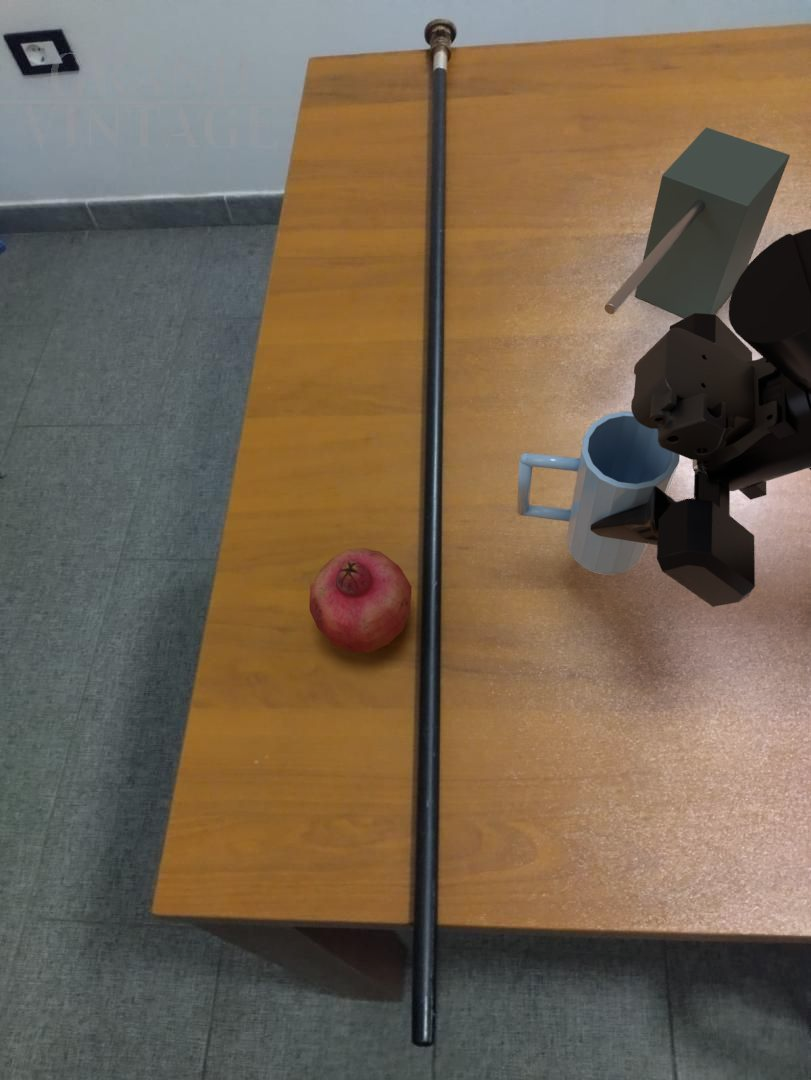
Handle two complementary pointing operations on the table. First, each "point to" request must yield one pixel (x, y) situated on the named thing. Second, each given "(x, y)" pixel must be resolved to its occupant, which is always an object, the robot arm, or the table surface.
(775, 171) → the box
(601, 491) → the blue mug
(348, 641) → the fruit
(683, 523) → the robot arm
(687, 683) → the table surface
